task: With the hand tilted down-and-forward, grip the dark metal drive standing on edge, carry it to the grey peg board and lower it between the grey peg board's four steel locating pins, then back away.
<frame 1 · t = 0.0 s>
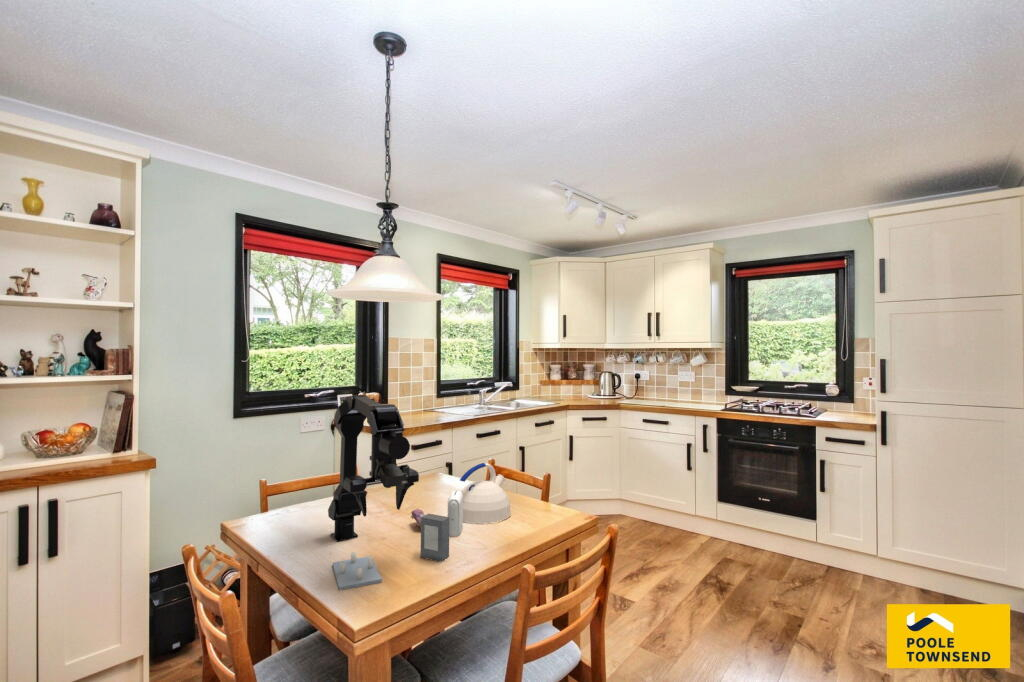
hand: (381, 512, 127), 15 cm above the table, tool pointing down, fingers open, 9 cm apart
drive: (434, 557, 135), on the table
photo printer: (455, 531, 155), on the table
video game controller: (422, 528, 158), on the table
grey peg board: (356, 573, 124), on the table
kettle: (482, 515, 171), on the table
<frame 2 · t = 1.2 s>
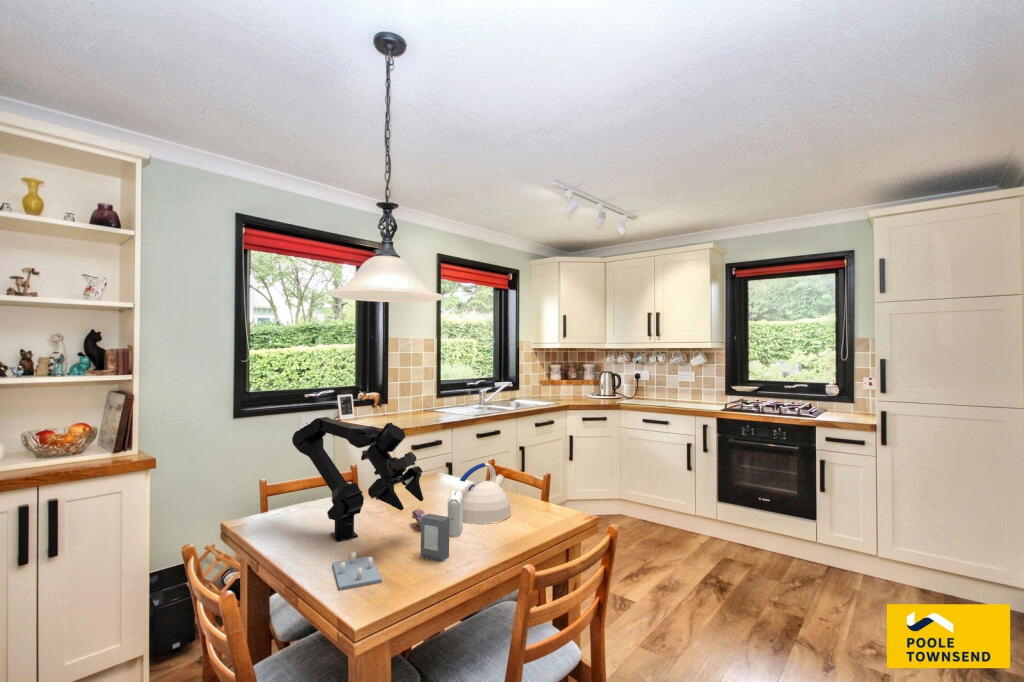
hand: (412, 504, 138), 13 cm above the table, tool tilted 45°, fingers open, 9 cm apart
nothing on the table moved.
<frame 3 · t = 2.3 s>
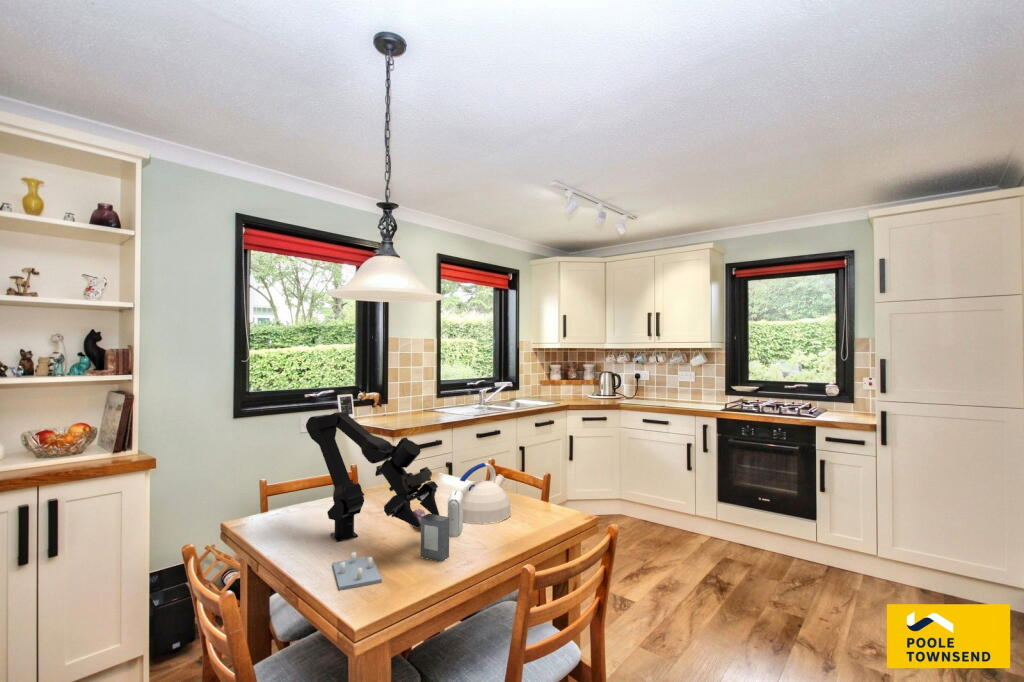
hand: (429, 521, 136), 9 cm above the table, tool tilted 45°, fingers open, 9 cm apart
nothing on the table moved.
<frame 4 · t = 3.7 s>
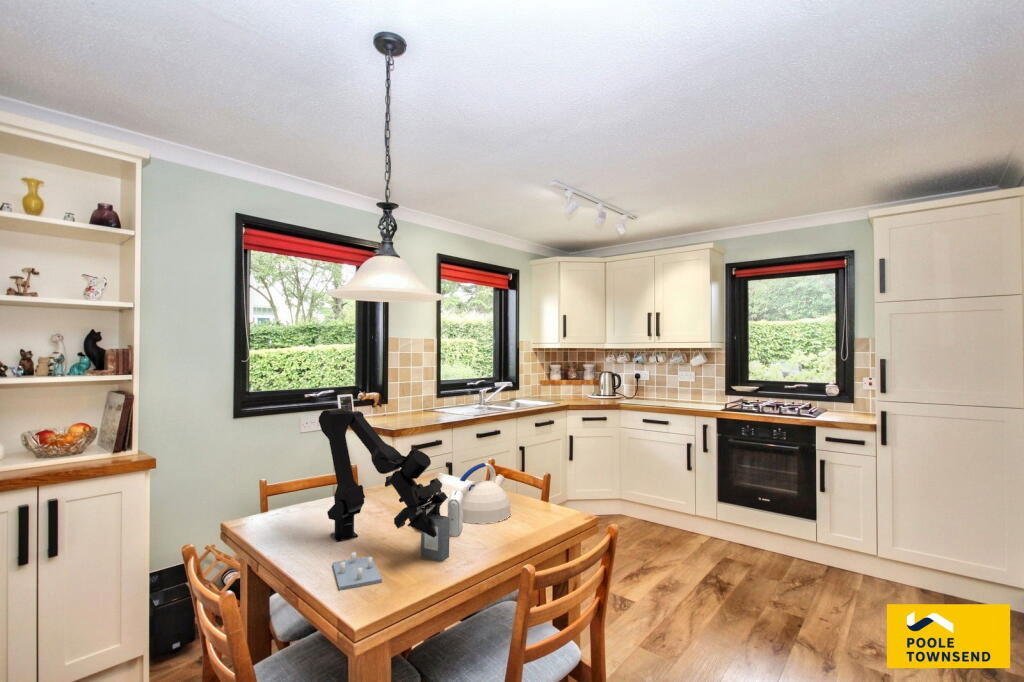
hand: (439, 533, 134), 7 cm above the table, tool tilted 45°, fingers closed on drive, 4 cm apart
drive: (434, 557, 135), on the table, touching gripper
everything else where it was.
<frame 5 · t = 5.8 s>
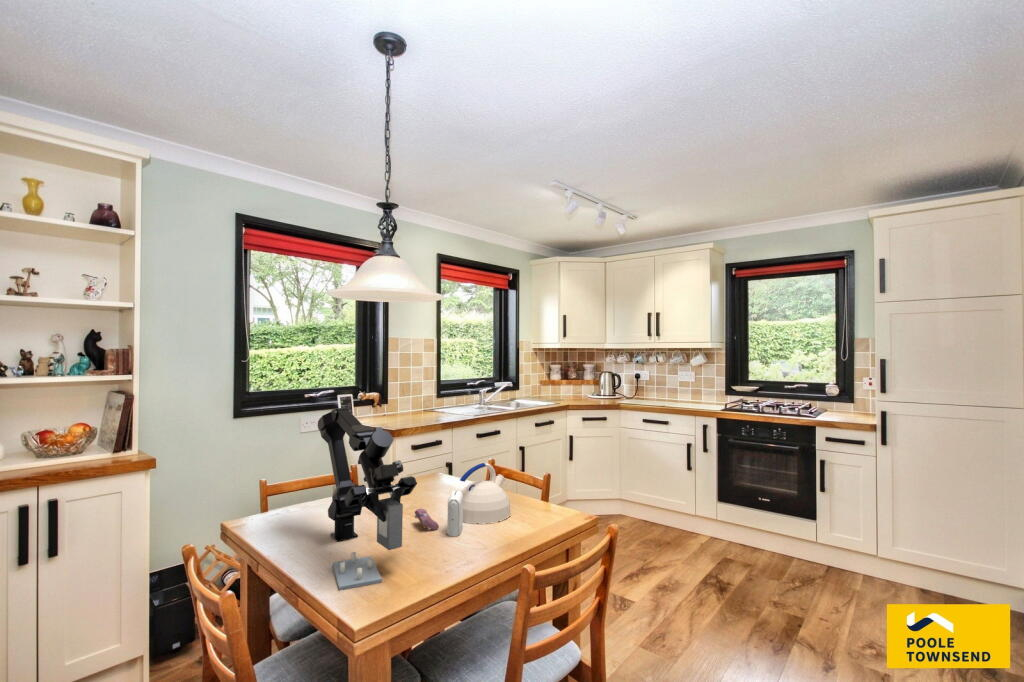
hand: (391, 519, 126), 13 cm above the table, tool tilted 45°, fingers closed on drive, 4 cm apart
drive: (389, 544, 127), point 6 cm above the table, touching gripper
when the fingers open (9 cm above the table, at t = 7.5 s): drive stays where it is, resting on grey peg board.
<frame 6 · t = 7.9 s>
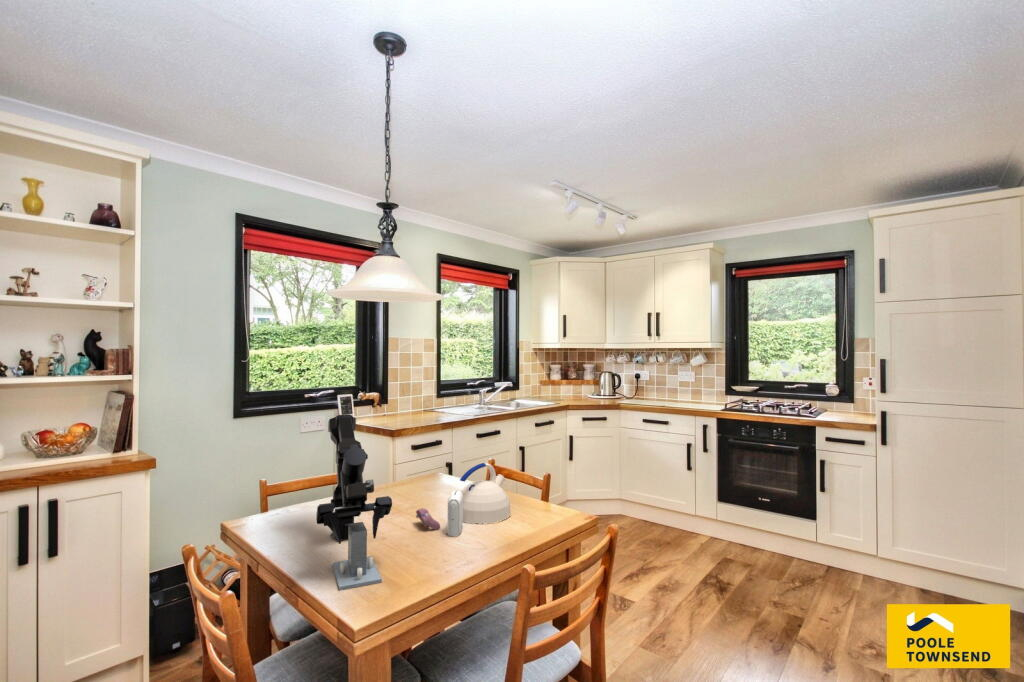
hand: (357, 540, 123), 9 cm above the table, tool tilted 45°, fingers open, 8 cm apart
drive: (356, 570, 124), point 1 cm above the table, touching grey peg board
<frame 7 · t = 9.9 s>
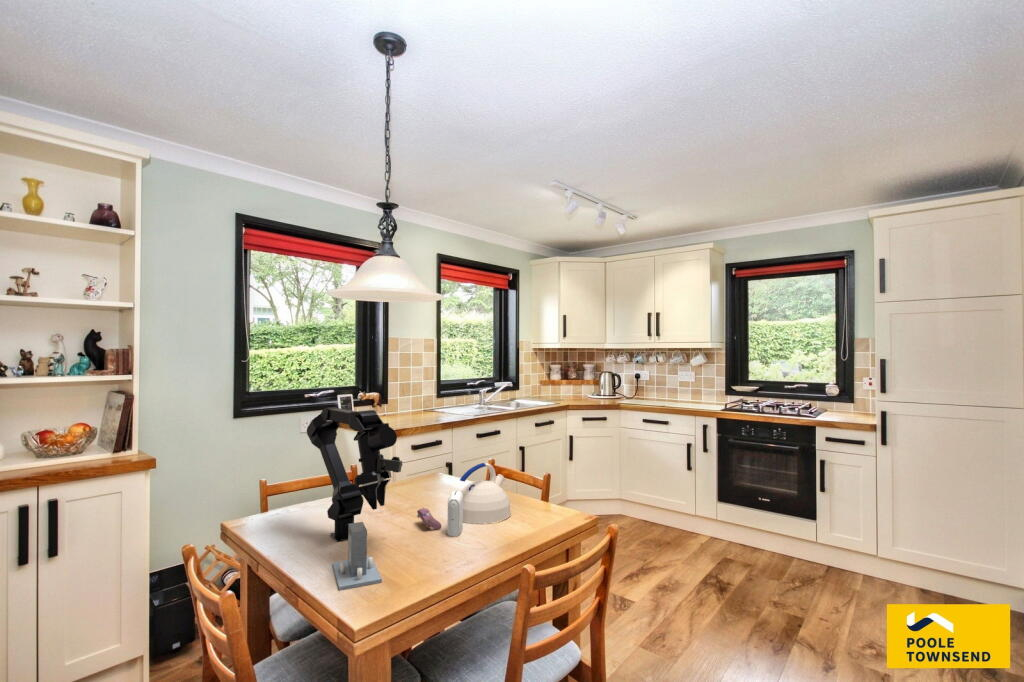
hand: (378, 507, 139), 12 cm above the table, tool tilted 15°, fingers open, 9 cm apart
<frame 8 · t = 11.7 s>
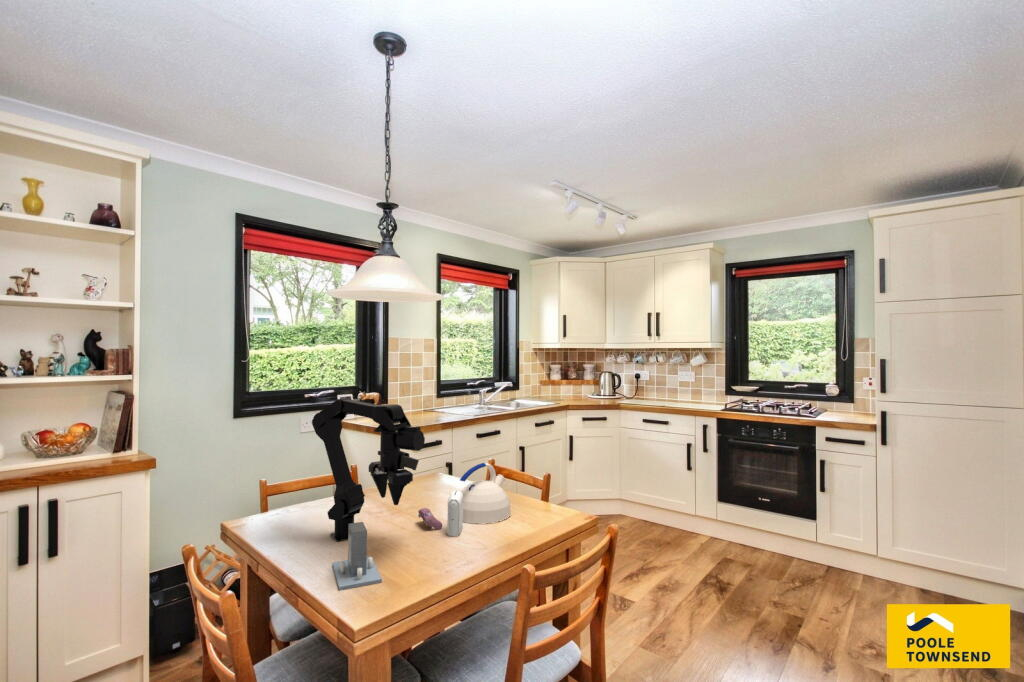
hand: (389, 501, 143), 13 cm above the table, tool pointing down, fingers open, 9 cm apart
at the end: drive 0.1 cm off-centre on the grey peg board, point 0.8 cm above the grey peg board's base; drive tilted 0°; the gripper is holding nothing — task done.
